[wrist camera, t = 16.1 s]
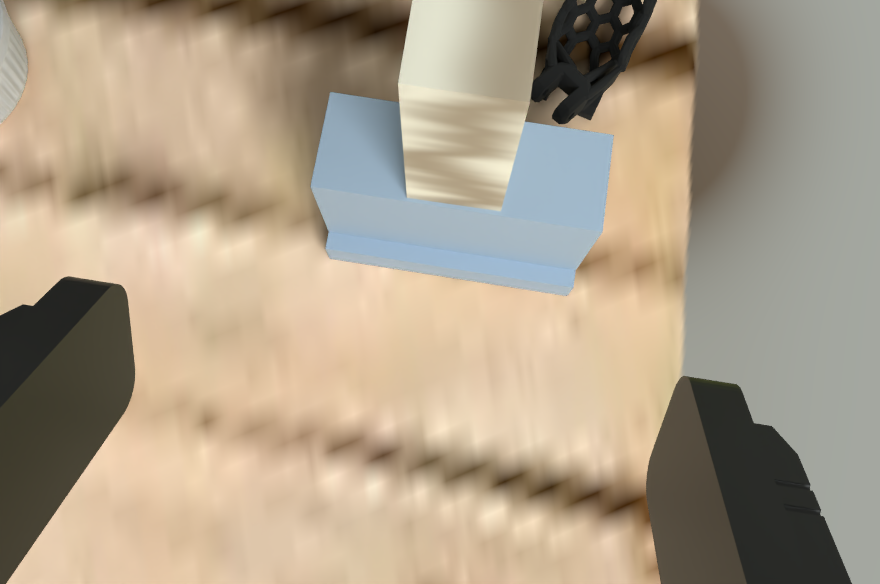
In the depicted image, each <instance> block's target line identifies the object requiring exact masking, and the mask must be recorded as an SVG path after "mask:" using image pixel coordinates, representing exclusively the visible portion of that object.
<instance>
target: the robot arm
mask: <svg viewBox="0 0 880 584" xmlns="http://www.w3.org/2000/svg"><path fill="white" fill-rule="evenodd" d="M134 382H135V364H134V355H133V345H132V336H131V326H130V317H129V307H128V299H127V294H126V291H125V289H124V288H123V287H122V286H121V285H119V284H113V283H106V282H100V281H94V280H88V279H81V278H75V277H64V278H62V279H61V280H60V281H59V282H58V283H56V284H55V285H54V286H53V287H52V288H51V289H50V290H49V291H48V292H47V293H46V294H45V295H44V296H43V297H42V298H41V299H40V300H39V301H38V302H37V303H36V304H35V305H34V306H30V305H21V306H19V307H17V308H15V309H13V310H11V311H9V312H6V313H4V314H2V315H0V584H6V583H7V581H8V580H9V578H10V577H11V576H12V574H13V573H14V571H15V570H16V568H17V567H18V565H19V564H20V563H21V561H22V560H23V558H24V557H25V555H26V554H27V552H28V551H29V550H30V548H31V547H32V545H33V544H34V542H35V541H36V539H37V538H38V537H39V535H40V534H41V532H42V531H43V529H44V528H45V526H46V525H47V524H48V522H49V521H50V519H51V518H52V516H53V515H54V513H55V512H56V511H57V509H58V508H59V506H60V505H61V503H62V502H63V500H64V499H65V498H66V496H67V495H68V493H69V492H70V490H71V489H72V487H73V486H74V485H75V483H76V482H77V480H78V479H79V477H80V476H81V474H82V473H83V472H84V470H85V469H86V467H87V466H88V464H89V463H90V461H91V460H92V459H93V457H94V456H95V454H96V453H97V451H98V450H99V448H100V447H101V446H102V444H103V443H104V441H105V440H106V438H107V437H108V435H109V434H110V432H111V431H112V430H113V428H114V427H115V425H116V424H117V422H118V421H119V419H120V418H121V417H122V415H123V414H124V412H125V410H126V408H127V406H128V404H129V402H130V399H131V396H132V392H133V388H134ZM646 495H647V503H648V509H649V515H650V521H651V527H652V533H653V539H654V545H655V551H656V557H657V563H658V569H659V575H660V580H661V584H852V583H851V581H850V578H849V576H848V573H847V571H846V569H845V566H844V564H843V562H842V559H841V557H840V555H839V552H838V550H837V547H836V545H835V542H834V540H833V538H832V535H831V533H830V530H829V528H828V526H827V523H826V521H825V518H824V517H823V516H820V512H821V509H820V507H819V504H818V502H817V500H816V497H815V495H814V492H813V491H810V483H809V480H808V478H807V476H806V473H805V471H804V468H803V466H802V464H801V461H800V459H799V456H798V454H797V453H796V452H795V451H794V450H793V449H792V448H791V447H790V446H789V444H788V443H787V442H786V441H785V440H784V439H783V438H782V437H781V436H780V435H779V434H778V432H777V431H776V430H775V429H774V428H773V427H772V426H767V425H761V424H755V423H753V420H752V418H751V414H750V412H749V409H748V406H747V404H746V401H745V398H744V395H743V393H742V391H741V388H740V387H739V386H738V385H737V384H731V383H725V382H718V381H712V380H706V379H700V378H694V377H687V376H683V377H681V378H680V379H679V381H678V383H677V384H676V387H675V389H674V392H673V395H672V398H671V400H670V403H669V406H668V409H667V412H666V414H665V417H664V420H663V423H662V426H661V428H660V431H659V434H658V437H657V440H656V442H655V445H654V448H653V451H652V454H651V457H650V461H649V465H648V471H647V481H646Z"/></svg>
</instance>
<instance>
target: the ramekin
mask: <svg viewBox="0 0 880 584" xmlns="http://www.w3.org/2000/svg"><path fill="white" fill-rule="evenodd" d="M27 73H28V59H27V56H26V49H25V47H24V45H23V41H22V39H21V37H20V35H19V33H18V31H17V29H16V28H15V26H14V24H13V22H12V21H11V19H10V17H9V15H8V13H7V9H6V6H5V4H4V2H3V0H0V124H1V123H2V122H3V121H4V120H5V119H6V118H7V117H8V116H9V115H10V113H11V112H12V111H13V110H14V108H15V107H16V105H17V103H18V101H19V99H20V98H21V96H22V93H23V90H24V88H25V84H26V81H27Z"/></svg>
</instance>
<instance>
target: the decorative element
mask: <svg viewBox="0 0 880 584" xmlns="http://www.w3.org/2000/svg"><path fill="white" fill-rule="evenodd" d="M596 1H597V0H586V2H585V3H584V4H581V5H578V6H577V0H565V2H564V3H563V5H562V7H561V9H560V10H559V12H558V14H557V16H556V18H555V20H554V23H553V26H552V29H551V32H550V35H549V38H548V46H547V54H546V59H545V67H544V69H543V71H542V73H541V75H540V76H539V77H537V78H536V79H535V80H534V81H533V83H532V91H531V99H532V100H533V101H534V102H540V101H541V100H542V99H543V100H547V98H548V96H549V94H550V93H551V92H552V91H553V90H554V89H556V88H557V87H559V88H560V89H562V90H563V91H564V92H565V93H567V94H568V95H569V96H568V97H566V98H565V99H564V100H563V101H562V102H561V103H560V104H559V105H558V107H557V108H556V109H555V111H554V113H553V115H552V119H554V120H555V121H556V122H557V123H558V124H566V123H568V122H569V121H570V120H571V119H572V118H574V117H575V116H576V115H579V116H581V117H584V118H586V119H588V120H591V118H592V116H593V114H594V112H595V110H596V108H597V106H598V104H599V102H600V99H601V97H602V95H603V93H604V92H605V91H606V90H607V89H608V88H609V87H610V86H611V85H612V84H613V83H614V81H615V80H616V78H617V77H618V75H619V74H620V72H624V71H625V69H626V67H627V65H628V62H629V60H630V57H631V54H632V52H633V50H634V48H635V46H636V44H637V42H638V40H639V39H640V37H641V35H642V34H643V32H644V30H645V27H646V25H647V23H648V21H649V19H650V17H651V15H652V12H653V9H654V7H655V4H656V2H657V0H644V2H643V4H642V2H641V0H612V1H613V3H614V4H613V6H612V8H611V10H610V12H609V13H606V14H602V15H598V13H597V11H596V9H595V8H594V5H595V3H596ZM628 5H632V7H633V10H634V14H633V16H632V18H631V20H630V22H629V23H627V24H624V25H622V24H621V22H620V20H619V17H618V16H619V14H620V11H621V9H622V7H624V6H628ZM585 13H586V14H587V15H588V17H589V19H590V20H591V22H590V24H589V26H588V27H587V29H586V31H582V32H579V33H576V32H575V30H574V28H573V25H574V22H575V20H576V18H577V17H578V16H580V15H582V14H585ZM609 22H610V24H611V26H612V28H613V30H614V33H613V35H612V38H611V40H610V41H608V42H604V43H600V42H599V40H598V38H597V37H596V35H595V33H596V31H597V29H598V27H599V25H601V24H605V23H609ZM628 33H629V34H628ZM564 34H566V36H567V38H568V40H567V43H566V44H565V46H564V47H563V46H562V44H561V43H560V41H559V39H560V37H561V36H563V35H564ZM625 34H628V35H627V37H626V39H625V41H624V43H623V46H622V48H621V50H619V47H618V45H619V42H620V40H621V38H622V36H623V35H625ZM586 40H587V41H588V43H589V45H590V46H591V48H592V51H591V54H590V70H589V73H587V74H585V75H582V74H581V73H580V72H579V71H578V70H577V67H576V65H575V64H574V62H573V61H572V59H571V58H570V56H569V54H570V53H571V51H572V50H573V48H574V47H575V45H576V44H577V43H579V42H582V41H586ZM607 51H610V54H611V60H610V61H608V62H607V63H605V64H604V65H602V66H600V67H598V66H599V55H600V54H601V53H604V52H607Z"/></svg>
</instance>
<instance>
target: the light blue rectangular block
mask: <svg viewBox="0 0 880 584" xmlns="http://www.w3.org/2000/svg"><path fill="white" fill-rule="evenodd" d="M613 136H614V135H610V134H603V133H597V132H590V131H584V130H577V129H570V128H564V127H557V126H551V125H544V124H538V123H531V122H525V123H524V127H523V130H522V134H521V138H520V141H519V145H518V149H517V153H516V156H515V160H514V164H513V168H512V171H511V175H510V179H509V183H508V186H507V190H506V194H505V198H504V201H503V205H502V209H501V211H495V210H488V209H481V208H474V207H467V206H460V205H453V204H446V203H439V202H432V201H425V200H418V199H411V198H407V192H406V180H405V167H404V154H403V142H402V129H401V116H400V104H399V102H393V101H387V100H380V99H373V98H367V97H360V96H354V95H347V94H341V93H334V92H330V96H329V101H328V105H327V110H326V115H325V120H324V124H323V129H322V134H321V139H320V143H319V148H318V153H317V158H316V162H315V167H314V172H313V177H312V181H311V186H310V187H311V189H312V192H313V194H314V197H315V199H316V202H317V204H318V207H319V209H320V211H321V214H322V216H323V219H324V221H325V224H326V226H327V229H328V231H329V233H328V238H327V243H326V248H325V249H326V251H327V253H328V256H329V258H330V259H336V260H342V261H348V262H355V263H361V264H367V265H374V266H380V267H386V268H393V269H399V270H406V271H412V272H418V273H425V274H431V275H437V276H444V277H450V278H456V279H463V280H469V281H475V282H482V283H488V284H495V285H501V286H507V287H514V288H520V289H526V290H533V291H539V292H545V293H552V294H558V295H564V296H567V295H568V294H569V293H570V291H571V290H572V289H573V286H574V278H575V270H576V269H577V267H578V266H579V265H580V263H581V262H582V260H583V259H584V257H585V256H586V255H587V253H588V252H589V250H590V249H591V247H592V246H593V245H594V243H595V242H596V240H597V239H598V237H599V236H600V235H601V233H602V231H603V223H604V214H605V205H606V196H607V188H608V179H609V170H610V162H611V153H612V144H613Z"/></svg>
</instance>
